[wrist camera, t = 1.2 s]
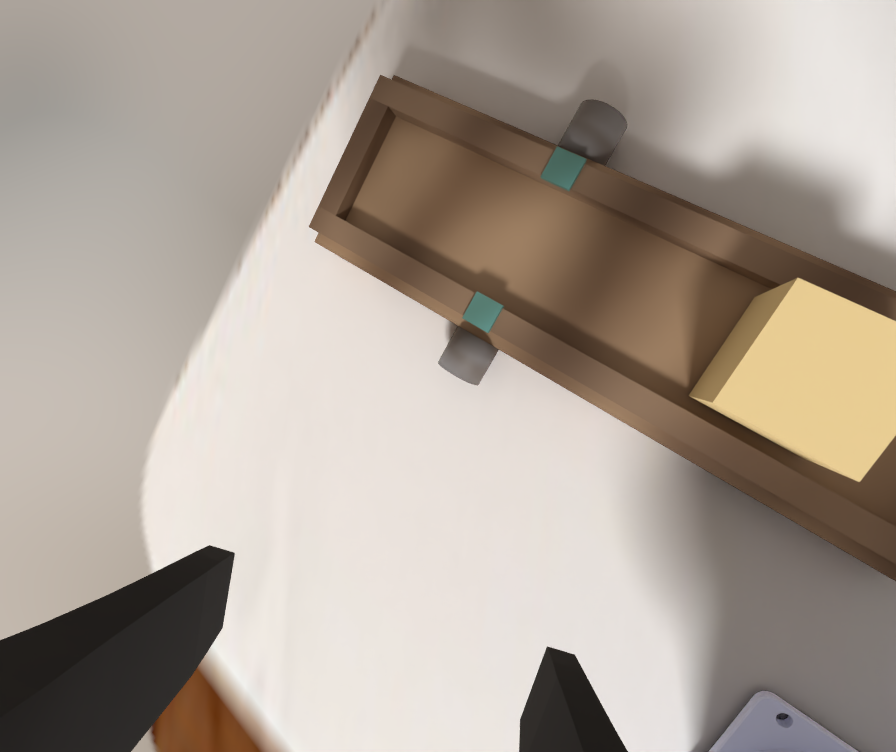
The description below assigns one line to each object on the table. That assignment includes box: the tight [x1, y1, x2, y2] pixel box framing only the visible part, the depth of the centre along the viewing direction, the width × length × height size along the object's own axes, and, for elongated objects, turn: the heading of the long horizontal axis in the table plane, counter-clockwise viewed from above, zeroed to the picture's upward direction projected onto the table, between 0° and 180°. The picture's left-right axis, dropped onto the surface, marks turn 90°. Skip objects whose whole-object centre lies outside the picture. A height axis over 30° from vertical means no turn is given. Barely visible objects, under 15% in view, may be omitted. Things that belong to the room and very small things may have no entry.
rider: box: [689, 278, 896, 482], centre depth 14 cm, size 4×4×4 cm
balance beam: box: [309, 75, 896, 581], centre depth 17 cm, size 26×12×2 cm, turn 60°
